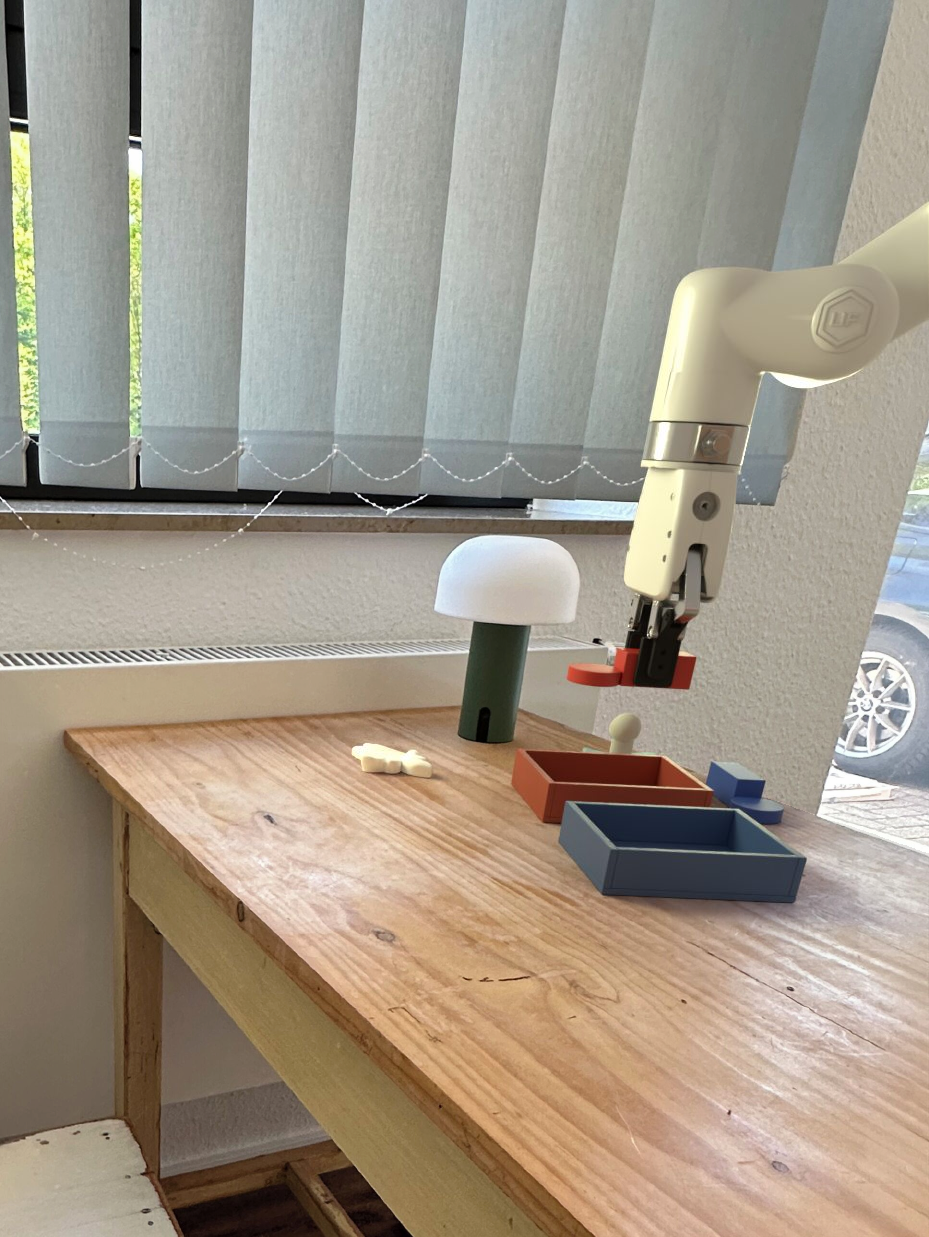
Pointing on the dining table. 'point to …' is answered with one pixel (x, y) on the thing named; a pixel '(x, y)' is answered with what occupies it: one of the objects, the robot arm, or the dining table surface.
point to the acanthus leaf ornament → (391, 760)
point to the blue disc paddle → (743, 791)
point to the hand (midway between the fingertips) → (644, 680)
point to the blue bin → (679, 852)
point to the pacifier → (623, 734)
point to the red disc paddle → (628, 671)
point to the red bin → (602, 781)
